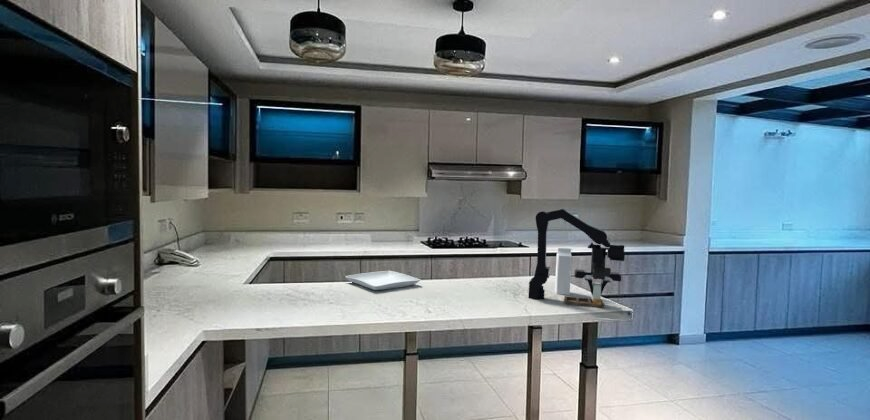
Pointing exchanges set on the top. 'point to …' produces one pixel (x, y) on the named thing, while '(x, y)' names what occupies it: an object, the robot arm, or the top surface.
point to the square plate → (382, 280)
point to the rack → (583, 302)
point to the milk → (563, 271)
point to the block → (596, 291)
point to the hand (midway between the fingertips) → (596, 294)
